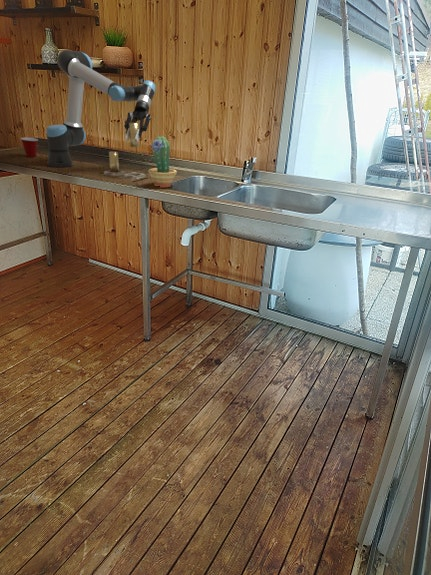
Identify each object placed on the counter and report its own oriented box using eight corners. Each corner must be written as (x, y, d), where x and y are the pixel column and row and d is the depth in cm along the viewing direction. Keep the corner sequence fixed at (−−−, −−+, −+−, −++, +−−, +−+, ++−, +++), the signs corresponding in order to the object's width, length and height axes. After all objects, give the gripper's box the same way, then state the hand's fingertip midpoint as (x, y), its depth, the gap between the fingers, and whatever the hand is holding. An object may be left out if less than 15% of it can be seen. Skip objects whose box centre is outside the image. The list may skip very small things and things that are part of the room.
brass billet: (128, 146, 220) (127, 122, 214) (133, 145, 224) (132, 122, 219) (135, 147, 218) (135, 123, 213) (141, 146, 222) (140, 123, 217)
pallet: (100, 176, 228) (100, 171, 227) (115, 173, 240) (115, 168, 239) (134, 182, 220) (133, 177, 219) (148, 178, 232) (148, 173, 230)
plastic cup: (36, 158, 269) (34, 139, 263) (20, 157, 268) (17, 138, 263) (43, 156, 278) (40, 137, 273) (27, 155, 278) (24, 136, 273)
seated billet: (108, 173, 231) (107, 152, 225) (113, 172, 235) (112, 151, 229) (115, 174, 229) (114, 153, 224) (120, 173, 233) (119, 152, 228)
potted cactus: (143, 183, 218) (142, 135, 207) (167, 181, 226) (167, 134, 215) (156, 189, 207) (156, 138, 196) (182, 187, 216) (183, 138, 204)
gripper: (159, 112, 225) (149, 145, 218) (130, 109, 228) (118, 143, 221) (156, 101, 218) (144, 136, 211) (125, 99, 221) (113, 133, 214)
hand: (131, 139), depth 216 cm, fingers closed on brass billet, 5 cm apart
